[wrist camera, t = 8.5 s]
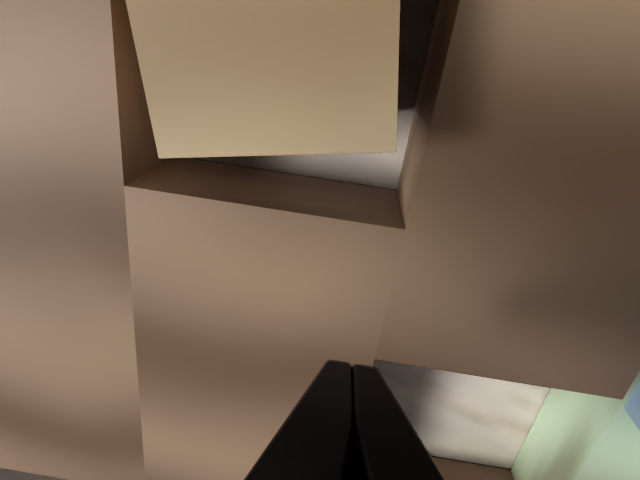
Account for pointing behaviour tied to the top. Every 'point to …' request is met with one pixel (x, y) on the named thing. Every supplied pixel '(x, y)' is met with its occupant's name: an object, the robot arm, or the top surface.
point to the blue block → (634, 406)
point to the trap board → (318, 250)
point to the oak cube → (269, 75)
